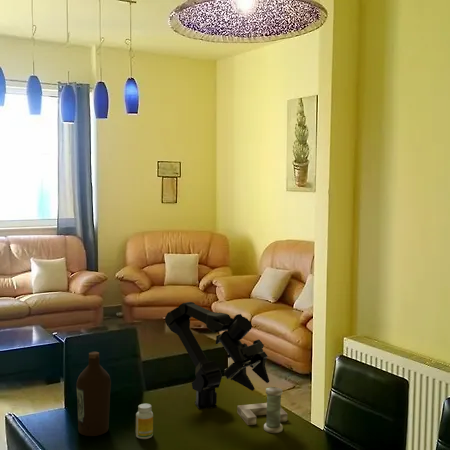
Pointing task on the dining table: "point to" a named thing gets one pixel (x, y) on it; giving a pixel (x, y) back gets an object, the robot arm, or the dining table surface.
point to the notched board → (256, 412)
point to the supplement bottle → (144, 421)
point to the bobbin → (273, 410)
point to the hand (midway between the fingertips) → (261, 386)
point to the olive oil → (93, 398)
